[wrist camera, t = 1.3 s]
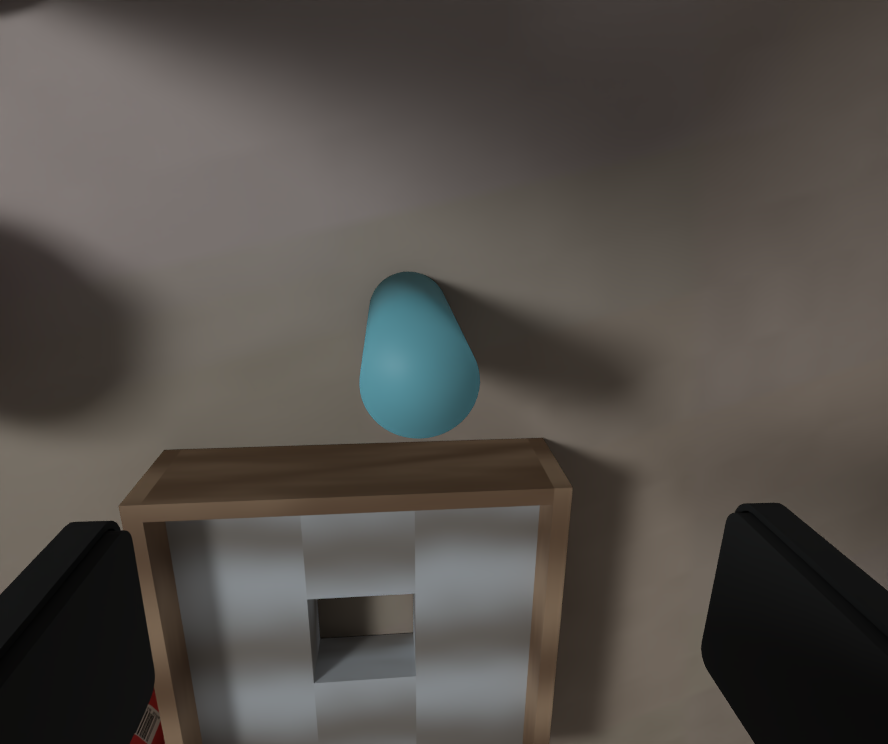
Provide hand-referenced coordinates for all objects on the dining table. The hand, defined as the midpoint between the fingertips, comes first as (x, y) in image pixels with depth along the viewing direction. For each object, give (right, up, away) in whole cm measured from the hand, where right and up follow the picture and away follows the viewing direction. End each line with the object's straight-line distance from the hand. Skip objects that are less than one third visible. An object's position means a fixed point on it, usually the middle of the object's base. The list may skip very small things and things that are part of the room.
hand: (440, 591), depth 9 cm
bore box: (-4, -9, +22) cm, 24 cm away
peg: (-2, +6, +18) cm, 19 cm away
